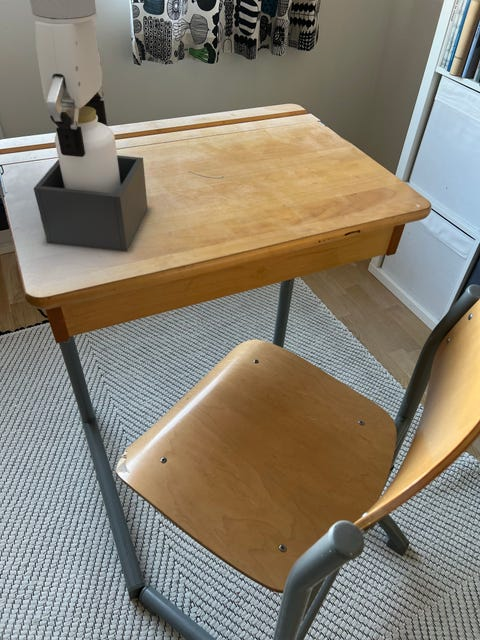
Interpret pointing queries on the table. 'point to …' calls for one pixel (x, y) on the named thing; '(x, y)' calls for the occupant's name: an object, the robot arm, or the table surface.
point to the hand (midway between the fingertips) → (85, 140)
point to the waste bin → (93, 209)
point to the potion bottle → (91, 157)
